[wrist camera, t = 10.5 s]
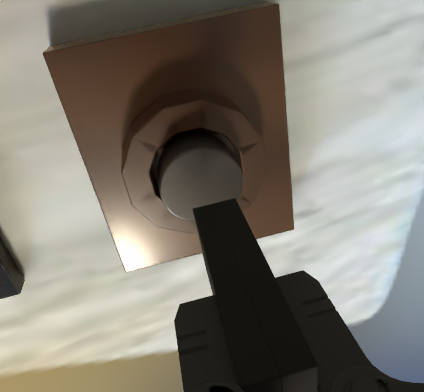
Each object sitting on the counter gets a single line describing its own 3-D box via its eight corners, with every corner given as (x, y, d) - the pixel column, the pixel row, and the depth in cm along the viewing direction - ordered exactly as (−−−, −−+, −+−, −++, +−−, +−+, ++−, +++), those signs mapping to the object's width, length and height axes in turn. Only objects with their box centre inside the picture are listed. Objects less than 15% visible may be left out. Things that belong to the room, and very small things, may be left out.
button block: (49, 46, 17) (32, 60, 14) (266, 1, 18) (295, 6, 15) (125, 254, 23) (125, 295, 20) (284, 214, 24) (306, 248, 21)
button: (147, 142, 17) (149, 159, 15) (228, 124, 17) (237, 138, 15) (166, 211, 18) (169, 231, 17) (238, 193, 19) (248, 211, 17)
